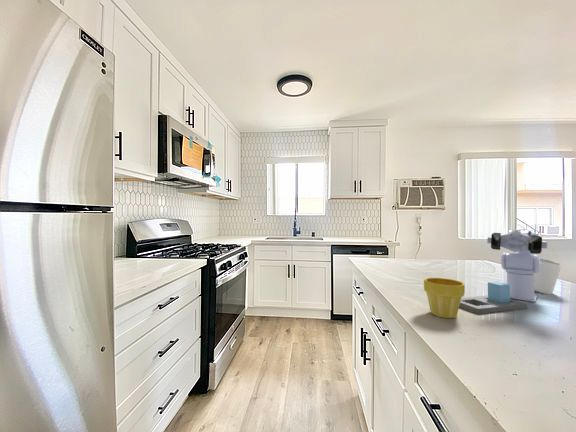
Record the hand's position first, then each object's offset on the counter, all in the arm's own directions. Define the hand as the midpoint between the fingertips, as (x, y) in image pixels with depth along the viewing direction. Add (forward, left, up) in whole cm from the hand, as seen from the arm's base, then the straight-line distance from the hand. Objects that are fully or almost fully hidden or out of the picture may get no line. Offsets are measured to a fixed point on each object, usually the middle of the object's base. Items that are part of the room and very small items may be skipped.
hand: (512, 244), depth 79 cm
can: (-35, +4, -20) cm, 40 cm away
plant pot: (+17, -14, -20) cm, 30 cm away
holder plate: (-1, -7, -20) cm, 21 cm away
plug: (-5, -4, -20) cm, 21 cm away
